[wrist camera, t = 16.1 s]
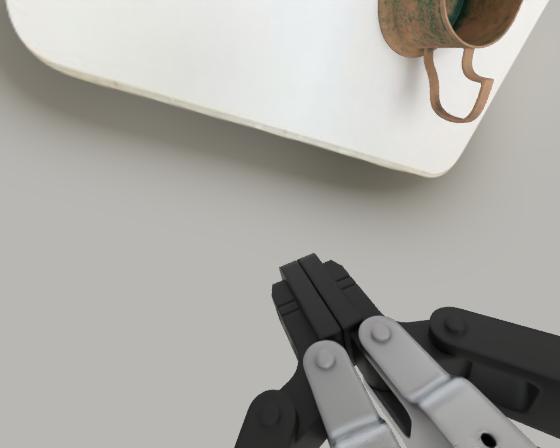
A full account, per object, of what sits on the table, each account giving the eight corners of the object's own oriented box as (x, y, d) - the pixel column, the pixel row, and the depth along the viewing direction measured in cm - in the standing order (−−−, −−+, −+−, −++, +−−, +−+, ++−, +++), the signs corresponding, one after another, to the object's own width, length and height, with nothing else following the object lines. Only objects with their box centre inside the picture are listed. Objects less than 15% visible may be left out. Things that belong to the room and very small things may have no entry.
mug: (364, 110, 40) (429, 130, 30) (388, -72, 31) (490, -128, 21) (436, 105, 43) (517, 123, 33) (476, -62, 34) (603, -106, 24)
